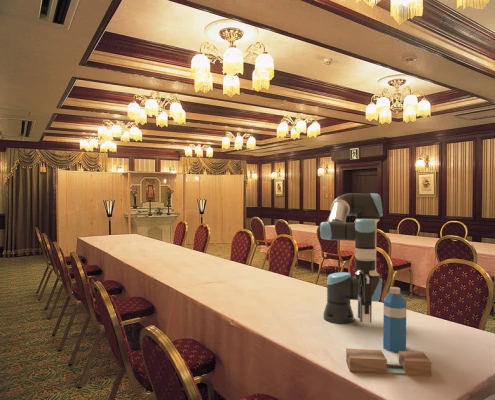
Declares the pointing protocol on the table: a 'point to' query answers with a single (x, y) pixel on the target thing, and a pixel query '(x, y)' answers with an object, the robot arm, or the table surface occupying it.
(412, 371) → the rail
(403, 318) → the water bottle
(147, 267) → the table surface
